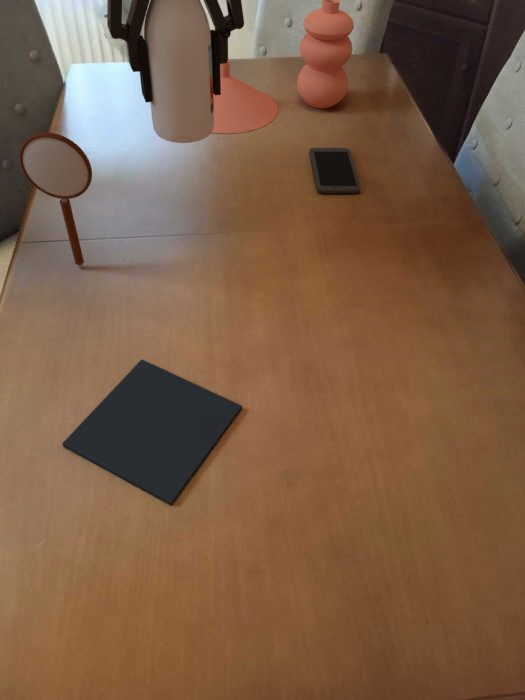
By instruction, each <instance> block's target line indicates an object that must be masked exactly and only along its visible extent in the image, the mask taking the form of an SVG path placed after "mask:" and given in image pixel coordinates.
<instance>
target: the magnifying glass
mask: <svg viewBox="0 0 525 700" xmlns="http://www.w3.org/2000/svg"><path fill="white" fill-rule="evenodd" d="M19 164H20V168H21V170H22V172H23V174H24V176H25V178H26V179H27V180H28V181H29V182H30V184H32V186H34V187H35V188H36V189H37V190H39V191H40V192H41V193H43V194H45V195H47V196H49V197H52V198H56V199H60V200H59V205H60V208H61V212H62V216H63V220H64V225H65V228H66V232H67V236H68V240H69V244H70V249H71V252H72V256H73V260H74V263H75V265H76V266H77V268H78V269H82V268H84V263H85V260H84V255H83V251H82V247H81V244H80V239H79V235H78V231H77V226H76V222H75V218H74V214H73V210H72V206H71V205H72V204H71V201H70V199H75V198H78V197H80V196H82V195H83V194H85V192H86V191H87V190H88V189H89V188H90V185H91V183H92V180H93V170H92V169H93V168H92V165H91V162H90V160H89V158H88V156H87V154H86V153H85V151H84V150H83V149H82V147H80V146H79V145H78V144H77V143H75V142H74V140H71V139H70V138H68V137H66V136H64V135H62V134H58V133H55V132H39V133H35V134H33V135H31V136H29V137H28V138H27V139H26V140H25V141H24V142H23V144H22V146H21V147H20V151H19Z"/></svg>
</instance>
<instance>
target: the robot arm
mask: <svg viewBox="0 0 525 700" xmlns="http://www.w3.org/2000/svg"><path fill="white" fill-rule="evenodd" d="M149 3H150V0H131V2H130V7H129V9H128V10H129V11H128V13H127V14H128V15H127V17H126V21H125V23H123V0H107V5H106V6H107V9H106V11H107V12H106V13H107V20H106V23H107V29H108V31H109V34H110V36H111V38H112V39H115V40H123V41H125V42H126V49H127V50H126V51H127V58H128V65H129V67H130V68H131V70H132V73H138V72H139V78H140V88H141V94H142V96H143V100H144V101H145V103H150V102H152V96H151V86H150V77H149V67H148V57H147V48H146V43H145V41H144V35H142V34H141V33H142V29H143V27H144V23H145V18H146V13H147V10H148V7H149ZM225 3H226V9H227V14H226V15H224V13H223V10H222V8H221V6H220V3H219V0H203V4H204V5H205V8H206V9H207V12H208V15H209V17H210V19H211V22H212V25H213V27H214V29H210V33H211V45H212V67H213V93H214V95H221V80H220V64H225V63H227V61H228V59H229V38H230V37H231V36H232V35H231V34H232V32H233V31H235V30H241V29H243V27H244V26H245V19H244V17H245V16H244V10H243V4H242V0H225Z"/></svg>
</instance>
